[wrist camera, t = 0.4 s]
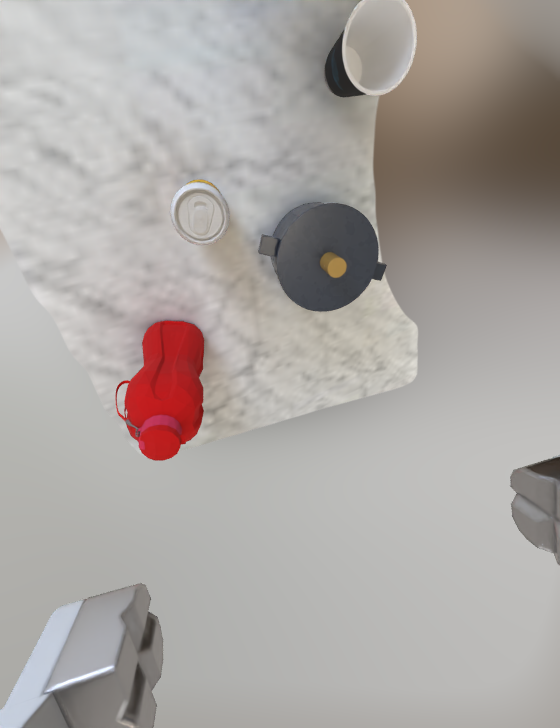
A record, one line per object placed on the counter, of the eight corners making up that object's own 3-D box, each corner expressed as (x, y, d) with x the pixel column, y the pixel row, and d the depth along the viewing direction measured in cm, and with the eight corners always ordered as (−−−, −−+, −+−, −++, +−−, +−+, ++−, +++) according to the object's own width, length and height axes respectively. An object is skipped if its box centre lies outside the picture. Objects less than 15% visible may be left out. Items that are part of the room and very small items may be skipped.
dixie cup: (300, 78, 43) (327, 52, 34) (340, 11, 41) (381, -36, 31) (344, 125, 46) (379, 114, 37) (383, 66, 44) (432, 38, 35)
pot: (264, 186, 48) (273, 189, 42) (380, 219, 54) (404, 226, 47) (245, 279, 54) (251, 294, 48) (351, 301, 60) (369, 316, 53)
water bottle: (133, 316, 54) (86, 413, 32) (204, 319, 56) (204, 411, 35) (137, 367, 58) (98, 482, 37) (203, 368, 61) (202, 476, 39)
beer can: (225, 184, 47) (233, 189, 34) (221, 230, 50) (226, 251, 37) (180, 175, 46) (170, 177, 33) (178, 223, 48) (168, 242, 36)
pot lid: (290, 189, 43) (299, 191, 39) (390, 217, 47) (407, 222, 43) (264, 299, 49) (270, 311, 45) (354, 316, 53) (366, 328, 49)
